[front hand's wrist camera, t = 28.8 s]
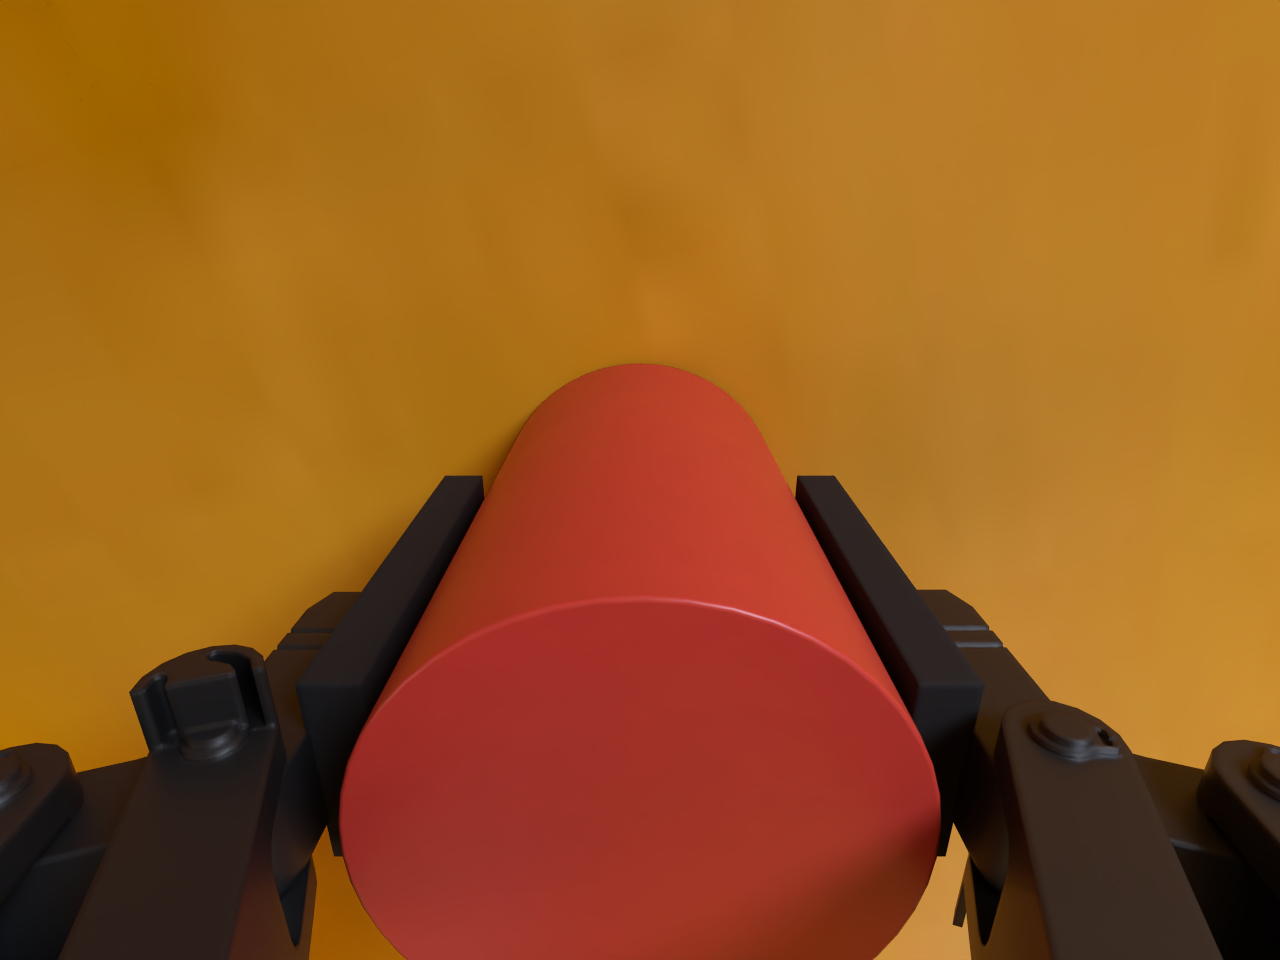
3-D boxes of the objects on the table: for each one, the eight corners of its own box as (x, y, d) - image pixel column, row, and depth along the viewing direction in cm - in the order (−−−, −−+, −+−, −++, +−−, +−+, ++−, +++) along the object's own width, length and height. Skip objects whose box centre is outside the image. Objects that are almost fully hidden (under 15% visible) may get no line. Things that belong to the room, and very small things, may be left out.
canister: (695, 309, 15) (783, 476, 6) (816, 539, 17) (1025, 933, 8) (453, 448, 16) (204, 770, 7) (594, 647, 18) (547, 1098, 9)
